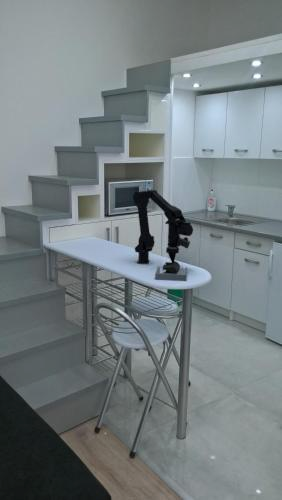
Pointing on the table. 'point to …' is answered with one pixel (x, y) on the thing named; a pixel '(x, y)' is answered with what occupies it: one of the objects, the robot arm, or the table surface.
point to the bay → (170, 275)
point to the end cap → (171, 267)
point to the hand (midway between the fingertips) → (172, 262)
